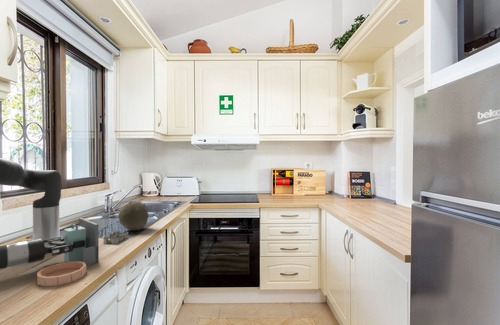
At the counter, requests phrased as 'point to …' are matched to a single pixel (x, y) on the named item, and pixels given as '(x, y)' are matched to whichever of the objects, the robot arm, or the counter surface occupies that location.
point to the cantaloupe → (133, 216)
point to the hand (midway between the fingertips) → (80, 240)
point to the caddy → (73, 236)
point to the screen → (90, 242)
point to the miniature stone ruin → (114, 237)
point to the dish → (61, 273)
